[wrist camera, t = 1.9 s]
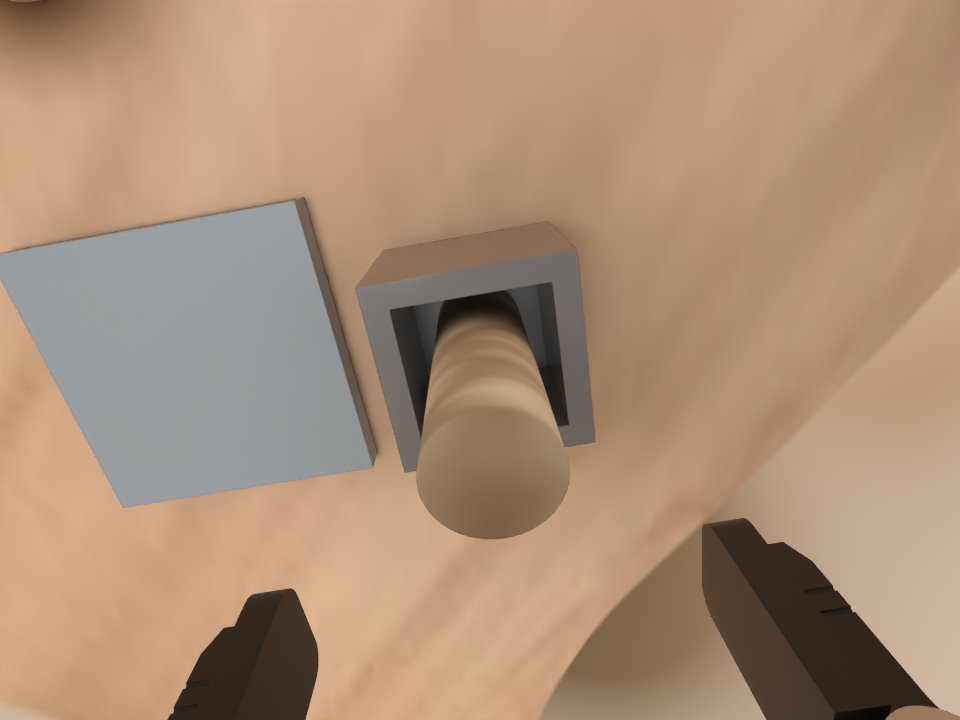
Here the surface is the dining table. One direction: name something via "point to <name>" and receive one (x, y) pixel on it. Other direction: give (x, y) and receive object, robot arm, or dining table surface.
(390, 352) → the grey open box
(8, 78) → the dining table surface
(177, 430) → the board
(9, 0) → the flower pot
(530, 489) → the dowel
